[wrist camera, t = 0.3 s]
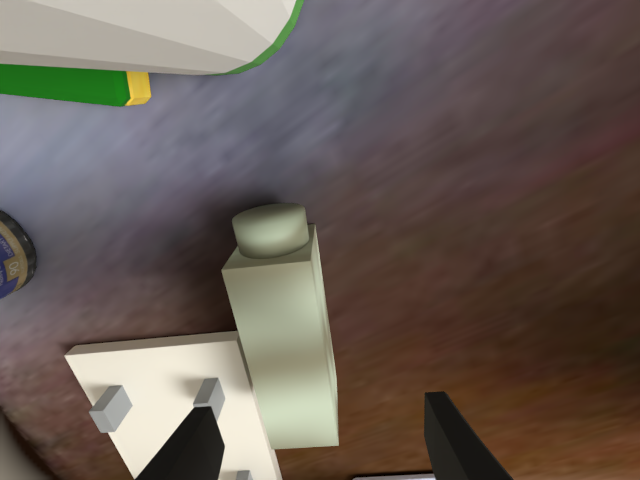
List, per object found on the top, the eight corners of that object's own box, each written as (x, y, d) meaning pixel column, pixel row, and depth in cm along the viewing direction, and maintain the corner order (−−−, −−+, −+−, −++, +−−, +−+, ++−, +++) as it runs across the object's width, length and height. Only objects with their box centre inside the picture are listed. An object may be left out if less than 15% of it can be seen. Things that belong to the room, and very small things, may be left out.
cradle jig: (286, 492, 28) (281, 535, 25) (158, 498, 28) (140, 540, 26) (240, 330, 21) (227, 363, 18) (75, 345, 22) (38, 379, 19)
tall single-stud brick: (336, 377, 22) (338, 445, 18) (282, 381, 23) (271, 449, 18) (311, 196, 17) (305, 226, 13) (242, 204, 18) (211, 236, 13)
